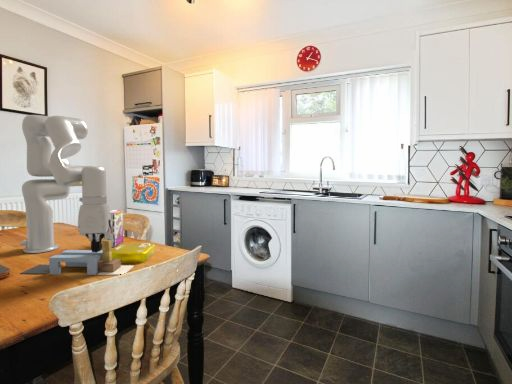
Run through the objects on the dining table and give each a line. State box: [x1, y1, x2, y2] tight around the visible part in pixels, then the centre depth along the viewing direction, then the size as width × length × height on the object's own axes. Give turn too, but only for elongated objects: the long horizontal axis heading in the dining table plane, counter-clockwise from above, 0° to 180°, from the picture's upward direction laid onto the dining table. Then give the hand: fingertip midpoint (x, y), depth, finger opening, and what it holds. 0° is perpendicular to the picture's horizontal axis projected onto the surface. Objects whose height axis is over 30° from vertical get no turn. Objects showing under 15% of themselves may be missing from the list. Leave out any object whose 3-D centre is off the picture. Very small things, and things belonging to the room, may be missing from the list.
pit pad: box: [19, 263, 64, 275], centre depth 104 cm, size 9×9×1 cm
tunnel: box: [48, 249, 103, 276], centre depth 104 cm, size 16×9×6 cm, turn 90°
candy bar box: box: [103, 209, 124, 248], centre depth 139 cm, size 11×5×16 cm, turn 5°
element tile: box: [111, 243, 156, 264], centre depth 120 cm, size 15×15×5 cm
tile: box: [97, 264, 135, 276], centre depth 104 cm, size 9×9×1 cm
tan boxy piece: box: [97, 239, 122, 273], centre depth 104 cm, size 7×6×11 cm
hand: (96, 251), depth 104 cm, fingers closed
